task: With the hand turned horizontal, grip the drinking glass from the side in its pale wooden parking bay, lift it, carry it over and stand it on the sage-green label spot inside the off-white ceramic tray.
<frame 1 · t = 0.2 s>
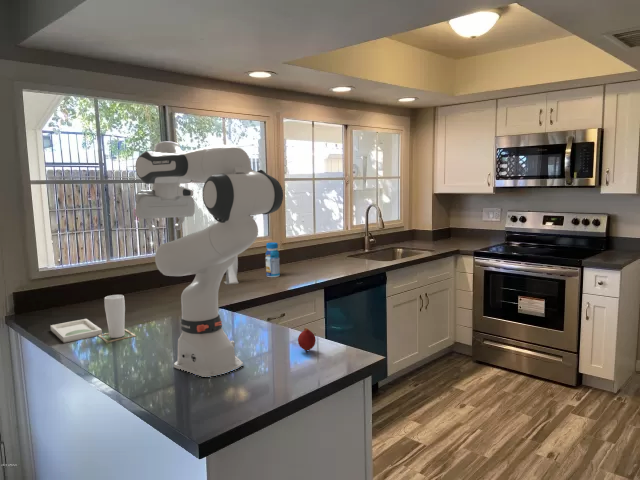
hand: (165, 230, 163), 40 cm above the counter, tool pointing down, fingers open, 8 cm apart
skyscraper: (231, 282, 267), on the counter
drinking glass: (117, 336, 175), on the counter
beverage bottle: (273, 276, 283), on the counter
tray: (76, 332, 181), on the counter
parking bay: (117, 336, 175), on the counter
onion: (307, 351, 156), on the counter
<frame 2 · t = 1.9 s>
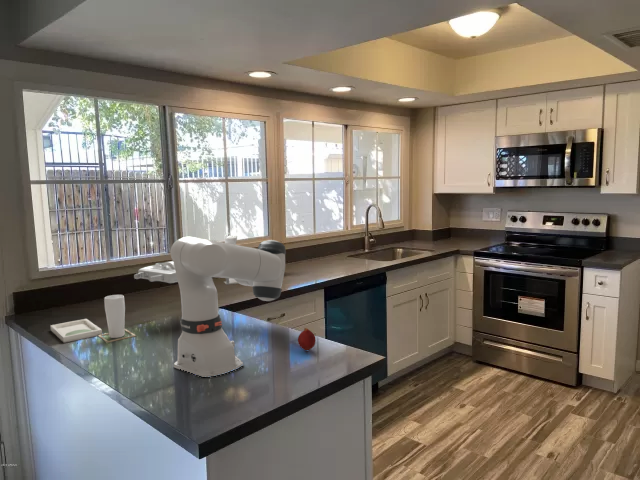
hand: (142, 278, 183), 20 cm above the counter, tool horizontal, fingers open, 8 cm apart
nothing on the counter moved.
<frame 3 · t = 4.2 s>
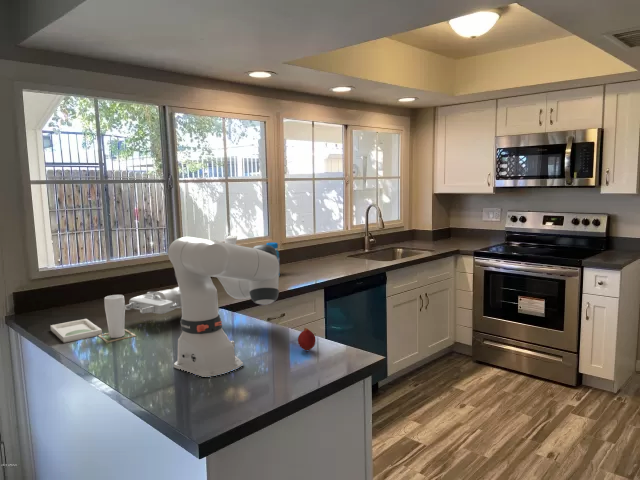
hand: (133, 309, 181), 8 cm above the counter, tool horizontal, fingers open, 8 cm apart
nothing on the counter moved.
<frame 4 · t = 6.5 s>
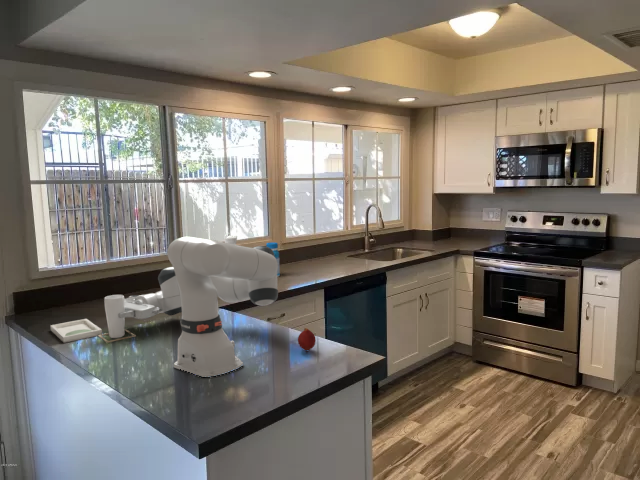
hand: (113, 314, 173), 9 cm above the counter, tool horizontal, fingers closed on drinking glass, 6 cm apart
drinking glass: (117, 336, 175), on the counter, touching gripper
everything else where it was.
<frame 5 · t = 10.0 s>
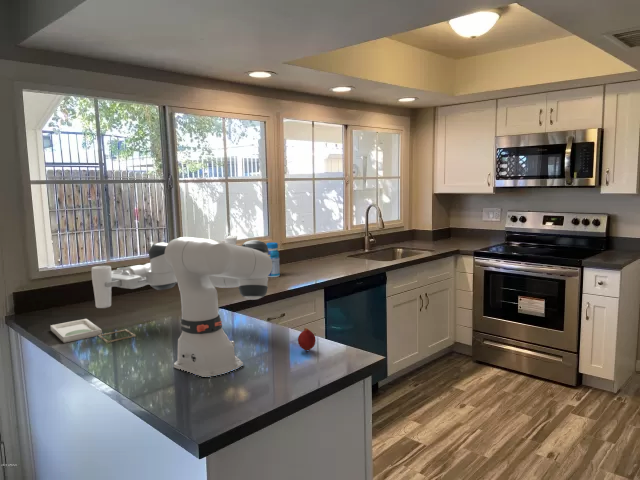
hand: (99, 284, 175), 19 cm above the counter, tool horizontal, fingers closed on drinking glass, 6 cm apart
drinking glass: (103, 307, 177), point 10 cm above the counter, touching gripper
everything else where it was.
when the fingers open (10 cm above the counter, at t = 13.7 s): drinking glass moves 1 cm, resting on tray.
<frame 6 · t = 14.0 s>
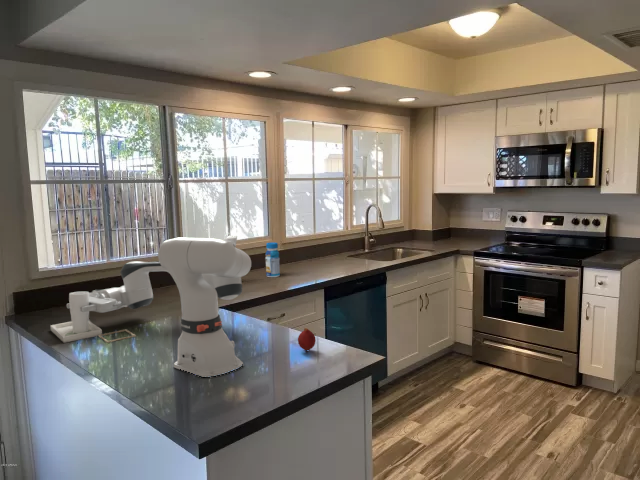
hand: (74, 308, 176), 11 cm above the counter, tool horizontal, fingers open, 8 cm apart
drinking glass: (80, 332, 178), point 1 cm above the counter, touching tray
everything else where it was.
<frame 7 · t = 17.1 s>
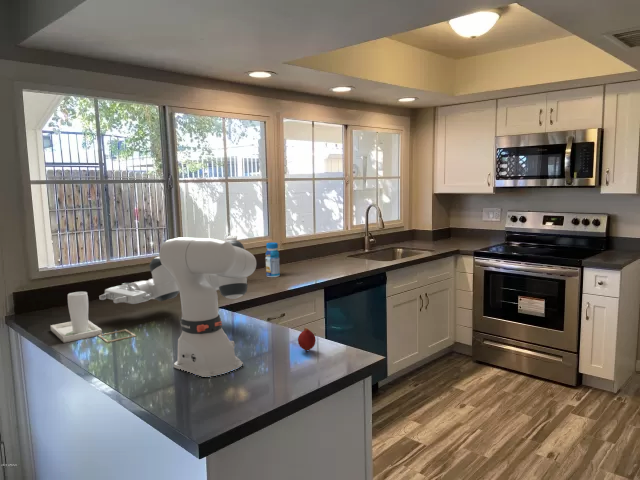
hand: (107, 299, 187), 11 cm above the counter, tool horizontal, fingers open, 8 cm apart
nothing on the counter moved.
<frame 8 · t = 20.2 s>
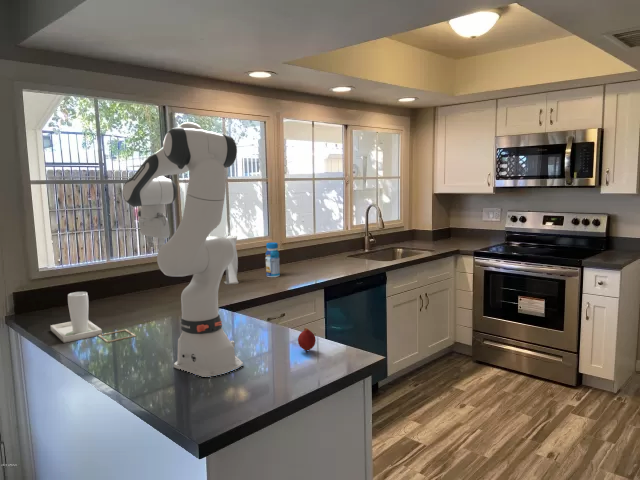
hand: (155, 248, 183), 31 cm above the counter, tool pointing down, fingers open, 8 cm apart
nothing on the counter moved.
at the end: drinking glass inside the target area on the tray (4.1 cm from its centre), point 0.5 cm above the tray's base; drinking glass tilted 1°; the gripper is holding nothing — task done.
